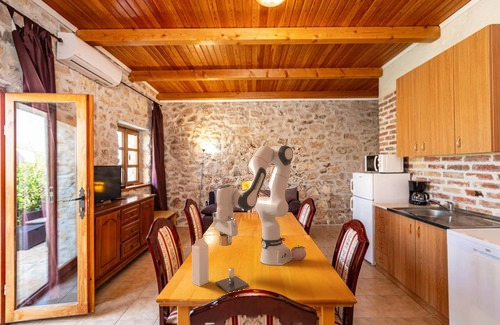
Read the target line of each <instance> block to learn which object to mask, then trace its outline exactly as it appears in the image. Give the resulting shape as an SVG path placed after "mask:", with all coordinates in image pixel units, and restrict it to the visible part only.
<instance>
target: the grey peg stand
mask: <svg viewBox="0 0 500 325" xmlns="http://www.w3.org/2000/svg"><path fill="white" fill-rule="evenodd" d="M214 284H215V285H216V286H217V287H219V289H221V290H222V291H223V292H225V293H226V294H227V293H228V294H230V293H229V292H231V293H233V292H232V291H234V292H236V291H238V290H242V289H245V288H247V287H249V286H250V285H249V283H248V282H246V281H245V280H243V279H242V278H240V277H239V276H237V275H235V268H234V267H229V269H228V277H227V278H224V279H220V280H217V281H215V283H214ZM244 287H245V288H244Z"/></svg>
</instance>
